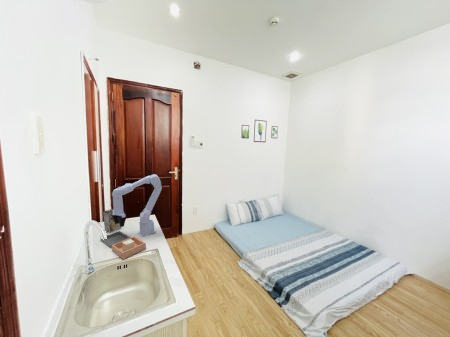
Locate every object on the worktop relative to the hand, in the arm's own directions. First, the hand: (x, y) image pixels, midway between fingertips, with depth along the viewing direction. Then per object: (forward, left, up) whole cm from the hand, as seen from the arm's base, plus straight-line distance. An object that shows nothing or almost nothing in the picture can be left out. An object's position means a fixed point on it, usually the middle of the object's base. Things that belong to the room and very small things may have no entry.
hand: (119, 225), depth 132 cm
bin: (+4, +20, -9) cm, 22 cm away
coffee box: (-2, -16, -10) cm, 19 cm away
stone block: (+4, +20, -9) cm, 22 cm away
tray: (+4, +2, -9) cm, 10 cm away
